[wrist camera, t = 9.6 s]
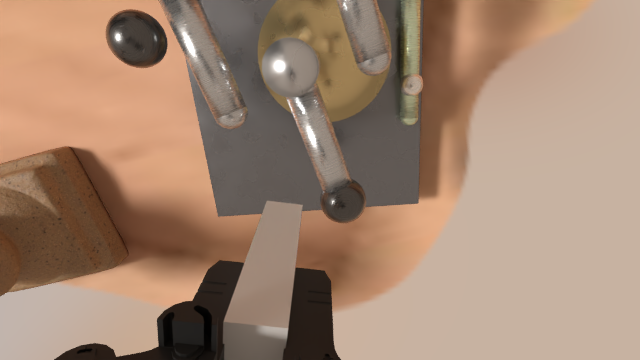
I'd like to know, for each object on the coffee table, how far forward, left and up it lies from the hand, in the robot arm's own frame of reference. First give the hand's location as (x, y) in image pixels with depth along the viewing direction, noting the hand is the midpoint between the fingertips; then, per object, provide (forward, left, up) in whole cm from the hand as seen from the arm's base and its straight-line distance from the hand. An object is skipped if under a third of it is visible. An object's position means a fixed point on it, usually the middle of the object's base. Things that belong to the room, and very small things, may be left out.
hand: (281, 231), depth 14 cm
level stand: (-6, +1, -13) cm, 15 cm away
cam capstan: (-5, +1, -11) cm, 13 cm away
